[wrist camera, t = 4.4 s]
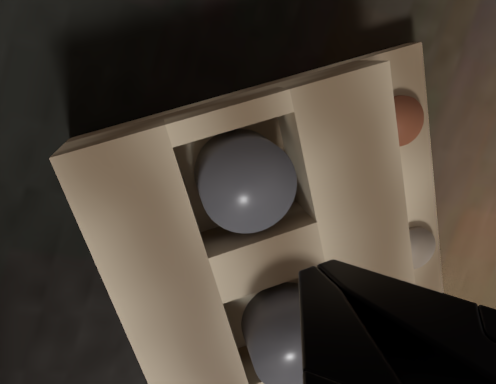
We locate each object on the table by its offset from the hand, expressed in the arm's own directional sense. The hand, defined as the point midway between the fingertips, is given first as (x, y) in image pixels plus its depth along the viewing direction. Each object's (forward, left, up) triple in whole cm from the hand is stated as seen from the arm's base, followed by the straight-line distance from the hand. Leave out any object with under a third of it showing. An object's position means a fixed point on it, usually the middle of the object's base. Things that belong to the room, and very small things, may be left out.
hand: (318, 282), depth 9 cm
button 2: (0, 0, -9) cm, 9 cm away
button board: (+2, -6, -10) cm, 12 cm away
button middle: (0, -6, -7) cm, 9 cm away
